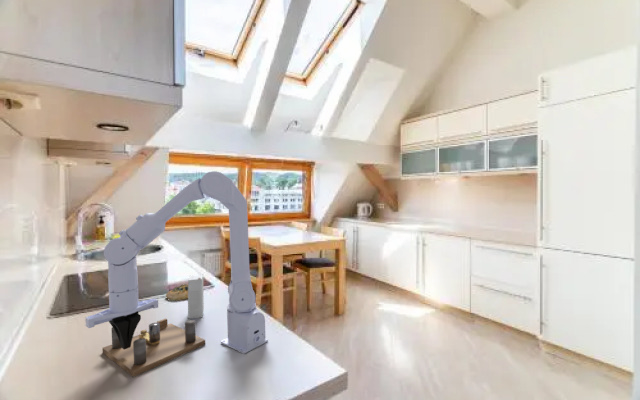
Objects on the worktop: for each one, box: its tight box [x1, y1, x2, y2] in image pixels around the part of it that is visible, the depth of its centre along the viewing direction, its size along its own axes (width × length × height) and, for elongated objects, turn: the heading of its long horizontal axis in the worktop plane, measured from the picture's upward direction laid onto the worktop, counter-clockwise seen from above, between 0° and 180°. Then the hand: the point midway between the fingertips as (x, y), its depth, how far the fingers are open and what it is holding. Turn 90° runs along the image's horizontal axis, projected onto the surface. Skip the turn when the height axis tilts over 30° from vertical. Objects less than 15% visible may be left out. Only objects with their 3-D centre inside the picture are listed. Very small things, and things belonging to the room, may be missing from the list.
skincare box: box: [187, 273, 205, 320], centre depth 99 cm, size 6×4×12 cm
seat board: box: [101, 318, 206, 378], centre depth 78 cm, size 17×17×6 cm
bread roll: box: [165, 283, 188, 301], centre depth 117 cm, size 11×11×5 cm
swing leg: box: [138, 321, 160, 345], centre depth 80 cm, size 8×2×5 cm, turn 53°
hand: (125, 347), depth 73 cm, fingers closed
